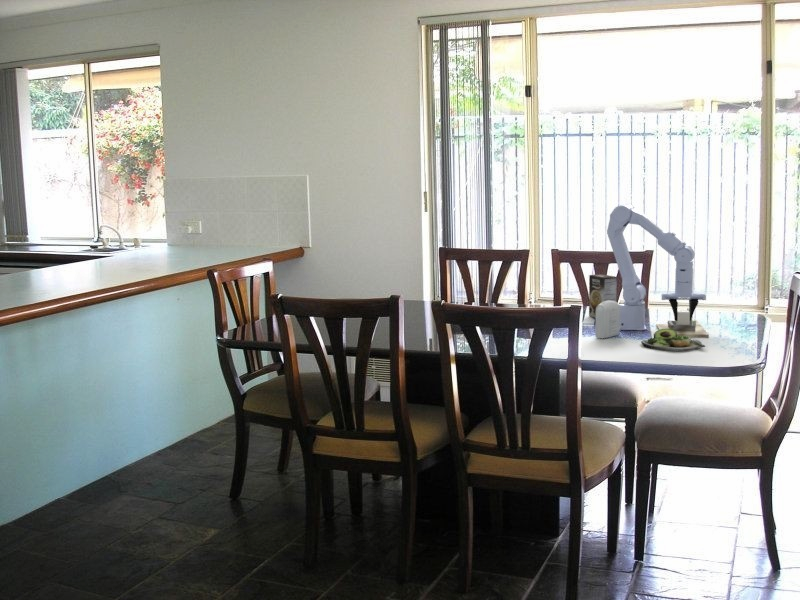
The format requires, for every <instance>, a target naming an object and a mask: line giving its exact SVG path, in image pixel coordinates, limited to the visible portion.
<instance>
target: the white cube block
mask: <svg viewBox="0 0 800 600" xmlns="http://www.w3.org/2000/svg"><path fill="white" fill-rule="evenodd" d="M676 325H690V312H689V311H688V310H687V309H686V310H684V309H683V310H682V309H681V310H679V309H677V321H676Z"/></svg>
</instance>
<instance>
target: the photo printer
mask: <svg viewBox="0 0 800 600" xmlns="http://www.w3.org/2000/svg"><path fill="white" fill-rule="evenodd" d="M619 304H620V303H618V302H617V300H616V301H610V300H608V301H604V302H602V303H600V304H599V305H598V306H597V307H596V318H595V330H594V331H595V332H594V333H595V338H597V339H600V338H602V340H603V338H604V339H607V338H608V339H609V338H610V337H615V336H619V335H620V330H619V316H620V306H619Z"/></svg>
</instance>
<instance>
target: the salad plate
mask: <svg viewBox="0 0 800 600" xmlns="http://www.w3.org/2000/svg"><path fill="white" fill-rule="evenodd" d="M640 343H641V345H642V346H643V347H644V348H648V349H653V350H654V349H655V350H659V351H667V352H689V351H692V350H693V349H694V350H698V349H699V348H705V347H706V345H704V344H703V343H702V341H701V340H698V339H692V338H691V337H687V336H680V335H679V336H678V335H677V333H676V331H674V330H672V329H661V330H658V329H657V330H656V331H655V332H654V333H653V337H650V338H646V339H641V342H640Z"/></svg>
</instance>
